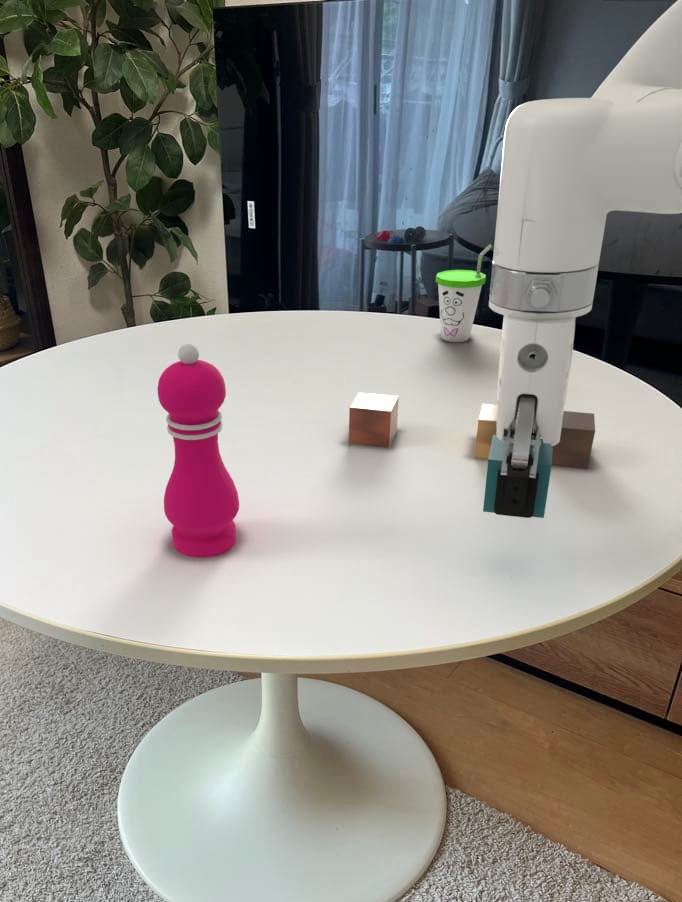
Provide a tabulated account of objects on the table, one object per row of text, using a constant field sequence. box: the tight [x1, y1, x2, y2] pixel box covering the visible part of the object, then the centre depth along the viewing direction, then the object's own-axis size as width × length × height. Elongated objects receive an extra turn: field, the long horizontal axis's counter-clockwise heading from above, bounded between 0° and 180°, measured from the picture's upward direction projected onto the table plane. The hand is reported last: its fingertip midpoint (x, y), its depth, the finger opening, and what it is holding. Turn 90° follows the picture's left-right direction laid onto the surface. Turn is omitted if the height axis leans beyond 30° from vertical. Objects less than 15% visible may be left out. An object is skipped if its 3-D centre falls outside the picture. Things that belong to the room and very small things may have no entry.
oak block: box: [473, 403, 514, 460], centre depth 92 cm, size 5×5×5 cm
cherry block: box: [348, 392, 400, 449], centre depth 96 cm, size 5×5×5 cm
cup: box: [435, 243, 493, 343], centre depth 126 cm, size 8×8×15 cm
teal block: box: [482, 435, 553, 519], centre depth 68 cm, size 5×5×5 cm
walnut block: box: [552, 410, 596, 470], centre depth 90 cm, size 5×5×5 cm
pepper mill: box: [157, 343, 240, 558], centre depth 73 cm, size 7×7×20 cm
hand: (515, 496), depth 69 cm, fingers closed on teal block, 5 cm apart
